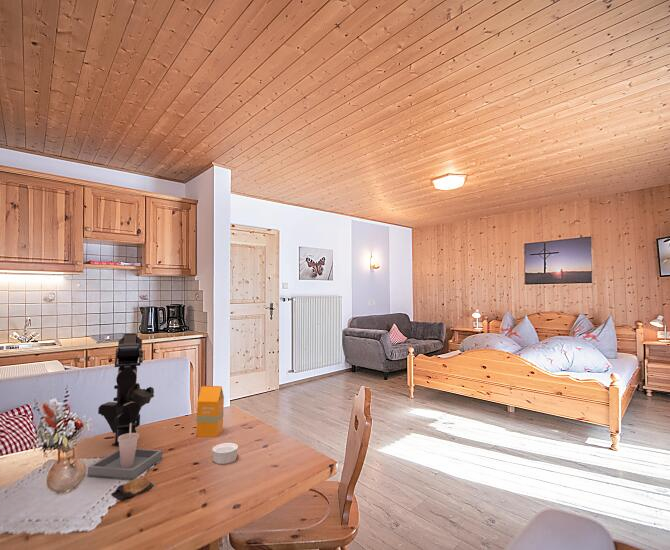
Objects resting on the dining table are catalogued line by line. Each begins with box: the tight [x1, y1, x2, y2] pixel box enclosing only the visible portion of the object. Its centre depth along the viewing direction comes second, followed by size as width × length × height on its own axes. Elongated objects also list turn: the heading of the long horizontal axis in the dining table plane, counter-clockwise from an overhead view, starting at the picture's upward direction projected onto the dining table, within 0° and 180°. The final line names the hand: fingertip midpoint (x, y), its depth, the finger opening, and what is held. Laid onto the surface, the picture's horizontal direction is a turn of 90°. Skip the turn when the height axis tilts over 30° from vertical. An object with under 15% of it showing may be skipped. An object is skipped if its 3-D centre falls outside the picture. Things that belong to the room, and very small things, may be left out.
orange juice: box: [195, 385, 225, 438], centre depth 156 cm, size 8×9×20 cm
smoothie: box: [118, 423, 140, 468], centre depth 124 cm, size 6×6×14 cm
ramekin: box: [211, 442, 239, 465], centre depth 131 cm, size 9×9×4 cm
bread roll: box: [110, 476, 157, 502], centre depth 109 cm, size 11×8×4 cm
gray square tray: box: [87, 448, 163, 481], centre depth 123 cm, size 16×16×3 cm
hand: (124, 427), depth 124 cm, fingers open, 9 cm apart
